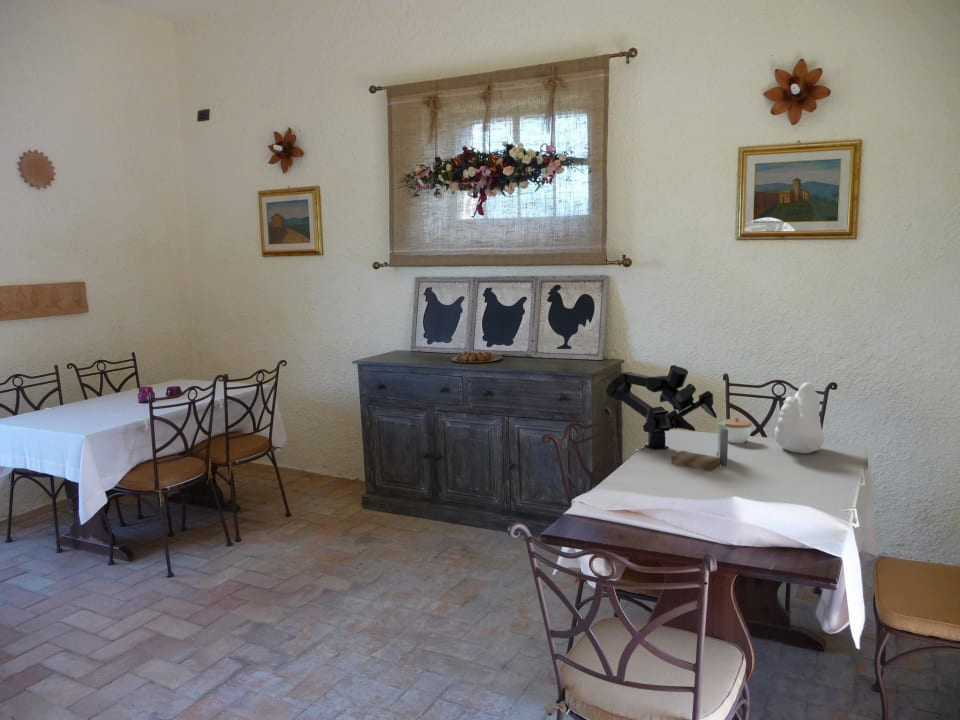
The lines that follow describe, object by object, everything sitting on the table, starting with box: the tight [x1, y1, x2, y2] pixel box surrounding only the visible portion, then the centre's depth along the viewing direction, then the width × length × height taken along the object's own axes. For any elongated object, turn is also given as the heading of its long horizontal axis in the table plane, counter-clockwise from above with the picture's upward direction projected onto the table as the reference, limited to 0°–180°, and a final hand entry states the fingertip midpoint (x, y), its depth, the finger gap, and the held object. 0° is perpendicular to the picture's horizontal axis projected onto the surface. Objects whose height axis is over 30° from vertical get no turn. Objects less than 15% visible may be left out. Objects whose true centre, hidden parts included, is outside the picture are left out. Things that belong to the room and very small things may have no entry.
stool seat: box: [670, 450, 721, 472], centre depth 242 cm, size 14×8×3 cm, turn 46°
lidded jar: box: [721, 417, 753, 445], centre depth 272 cm, size 11×11×9 cm
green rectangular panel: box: [716, 421, 729, 466], centre depth 245 cm, size 13×2×12 cm, turn 166°
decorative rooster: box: [774, 381, 825, 454], centre depth 255 cm, size 25×16×25 cm, turn 120°
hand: (705, 423), depth 243 cm, fingers open, 9 cm apart
